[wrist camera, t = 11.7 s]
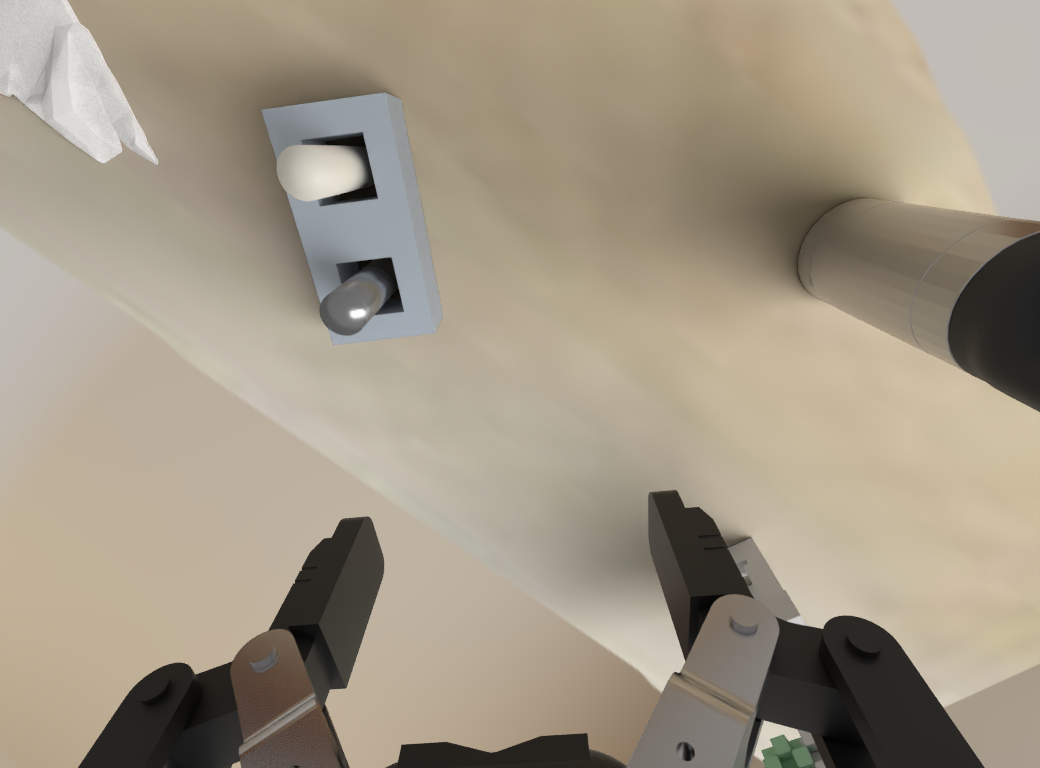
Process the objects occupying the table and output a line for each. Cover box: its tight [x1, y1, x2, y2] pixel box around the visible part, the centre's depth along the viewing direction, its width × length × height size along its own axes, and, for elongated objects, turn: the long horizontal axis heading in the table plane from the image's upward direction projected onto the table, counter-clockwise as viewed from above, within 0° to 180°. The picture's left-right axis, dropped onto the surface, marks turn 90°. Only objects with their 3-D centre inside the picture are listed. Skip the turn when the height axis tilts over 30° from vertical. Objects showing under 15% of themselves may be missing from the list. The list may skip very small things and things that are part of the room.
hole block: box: [261, 92, 443, 345], centre depth 40 cm, size 9×18×5 cm, turn 7°
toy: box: [727, 538, 826, 768], centre depth 48 cm, size 30×10×30 cm, turn 33°
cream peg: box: [276, 145, 374, 201], centre depth 35 cm, size 3×3×12 cm
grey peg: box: [320, 257, 398, 336], centre depth 39 cm, size 3×3×12 cm
